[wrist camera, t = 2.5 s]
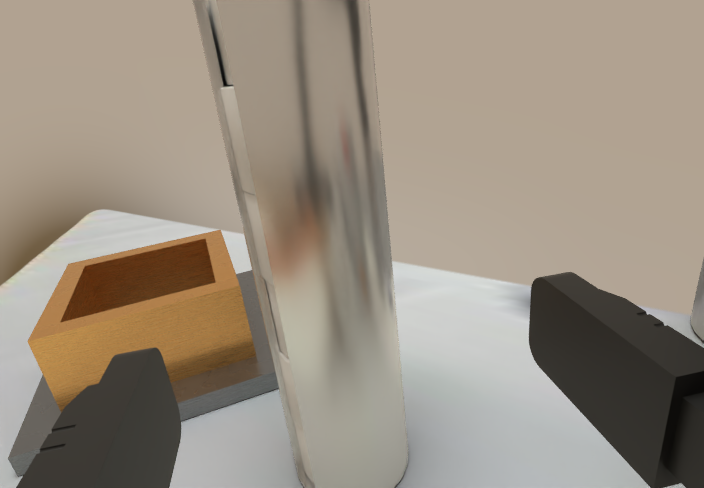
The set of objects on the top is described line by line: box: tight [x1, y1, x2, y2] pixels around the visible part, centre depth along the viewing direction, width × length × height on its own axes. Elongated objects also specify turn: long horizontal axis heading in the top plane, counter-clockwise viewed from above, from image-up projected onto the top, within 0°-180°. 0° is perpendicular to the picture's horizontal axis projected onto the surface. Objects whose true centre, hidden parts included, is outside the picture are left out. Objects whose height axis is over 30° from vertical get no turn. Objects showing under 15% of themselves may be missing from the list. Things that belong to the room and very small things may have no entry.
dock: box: [8, 230, 278, 476], centre depth 37 cm, size 18×18×8 cm
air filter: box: [193, 0, 408, 488], centre depth 21 cm, size 6×6×25 cm
